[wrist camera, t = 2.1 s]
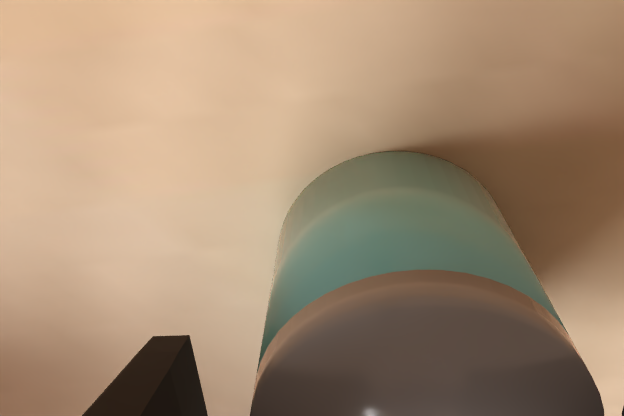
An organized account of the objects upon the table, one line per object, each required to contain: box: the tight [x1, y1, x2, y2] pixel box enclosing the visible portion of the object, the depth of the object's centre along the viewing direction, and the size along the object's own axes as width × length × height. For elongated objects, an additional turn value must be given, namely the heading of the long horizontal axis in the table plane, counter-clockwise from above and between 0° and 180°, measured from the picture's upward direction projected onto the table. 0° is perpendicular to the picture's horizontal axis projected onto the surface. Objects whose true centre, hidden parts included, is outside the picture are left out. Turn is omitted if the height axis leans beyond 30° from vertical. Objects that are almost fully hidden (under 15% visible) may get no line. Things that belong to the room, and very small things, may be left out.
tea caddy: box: [250, 151, 604, 416], centre depth 10 cm, size 5×5×5 cm
